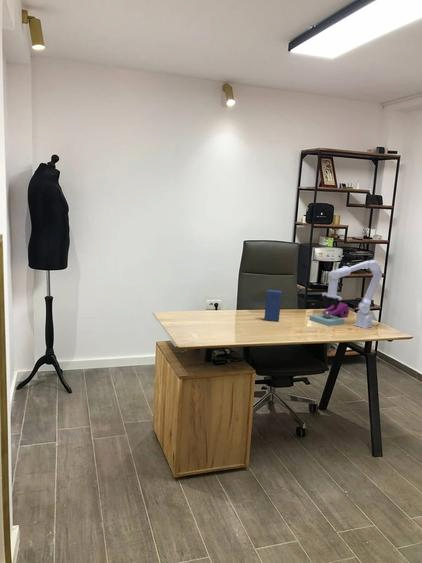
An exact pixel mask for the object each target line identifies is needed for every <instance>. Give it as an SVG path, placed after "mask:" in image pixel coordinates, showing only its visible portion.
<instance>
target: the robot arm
mask: <svg viewBox="0 0 422 563" xmlns="http://www.w3.org/2000/svg"><path fill="white" fill-rule="evenodd" d="M361 269H366V270H368V269H369V270H370V271H371V274H372V275H373V276H372V277H371V280H370V283H369V285H368V288H367V289H366V292H365V294H364V296H363V298H362V300H361V301H360V302H359V303H358V305H357V307H358V308H357V309H358V310H357V315H356V321H355V323H353V324H352V325H353V326H356V327H359V328H362V329H369V328H373V326H372V325H373V320H374V319H373V315H372V314H370V311H371V303H372V300H373V297H374V295H375V293H376V291H377V288H378V286H379V284H380V281H381V279H382V277H383V273H382V268H381V265H380V264H379V262H378V261H377V260H375V259H370V260H365V261H362V262H359V263H357V264H355V265H352V266H350V267H349V266H345V265H343V266H342V267H341V268H335V270H331V271H329V275H328V276H329V280H328V288H327V292H322V295H321V296H322V301H323V305H324V308H329V307H328V305H329V300H330V299H333V304H334V310H337V307H338V305H339V303H340V302H341V303H342V300H343V298H342V296H339V295H337V293H338V286H339V281H338V280H339V278H343V277H346V276H349V275H350V274H351V273H352V272H355V271H359V270H361Z"/></svg>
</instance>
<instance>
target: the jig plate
mask: <svg viewBox="0 0 422 563" xmlns="http://www.w3.org/2000/svg"><path fill="white" fill-rule="evenodd" d="M323 316H324V314H323V313H319V314H314V315H310V316H309V321H311V322H314V323H318V324H320V325H324V326H327V327H331V326H336V325H337V326H338V325H344V324H345V319H344V318H342V317H338V316H336V315H335V316H332V315H330V319H326V318H323Z"/></svg>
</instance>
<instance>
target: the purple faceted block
mask: <svg viewBox="0 0 422 563" xmlns="http://www.w3.org/2000/svg"><path fill="white" fill-rule="evenodd" d="M324 311H330V312H331V314H330V315H332V316H335V317H336V316H339V318H342V319H344V318H345V319H346V318H347V317H348V316H349V313H350V310H349V305H348V304H347V303H344V302H342V301H341V302H340V303H339V305H338V307H337V310H334V303H333V304H332V305H330V306H329V307H326V308H325V309H324V310H323V311H322V314H324Z"/></svg>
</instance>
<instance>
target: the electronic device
mask: <svg viewBox="0 0 422 563" xmlns="http://www.w3.org/2000/svg"><path fill="white" fill-rule="evenodd" d="M282 292H283V291H282V290H279V289H277V290H276V289H275V290H274V289H266V295H265V296H266V298H265V308H264V318H263V319H264V321H269V322H280V313H281V304H282V296H283V295H282Z"/></svg>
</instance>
